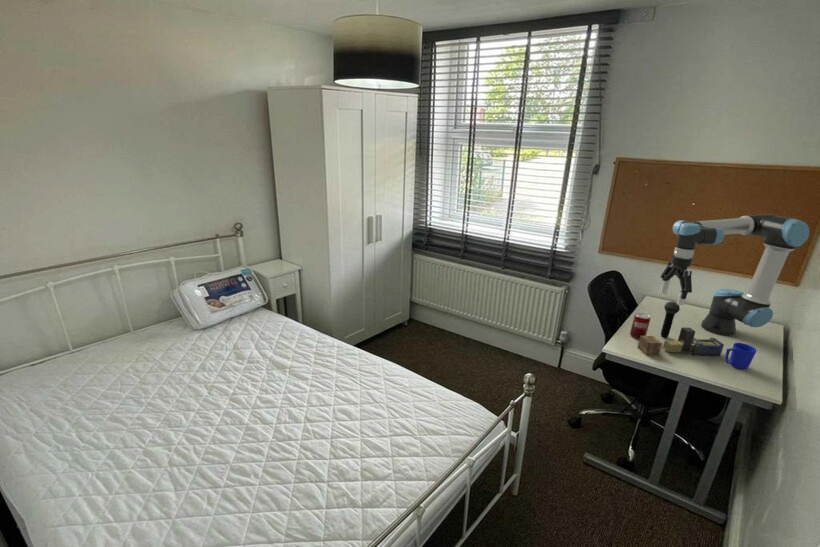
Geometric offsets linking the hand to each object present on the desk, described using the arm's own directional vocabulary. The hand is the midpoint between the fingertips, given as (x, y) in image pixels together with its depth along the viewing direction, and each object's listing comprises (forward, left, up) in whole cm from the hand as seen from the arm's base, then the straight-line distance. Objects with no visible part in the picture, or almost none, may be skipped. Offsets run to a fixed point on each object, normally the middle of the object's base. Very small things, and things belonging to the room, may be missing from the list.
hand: (671, 298), depth 191 cm
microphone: (-8, -8, -25) cm, 28 cm away
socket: (+10, +7, -25) cm, 28 cm away
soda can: (+6, -8, -25) cm, 27 cm away
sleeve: (-17, +7, -25) cm, 31 cm away
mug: (-24, +19, -25) cm, 39 cm away
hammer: (-11, +7, -24) cm, 27 cm away
